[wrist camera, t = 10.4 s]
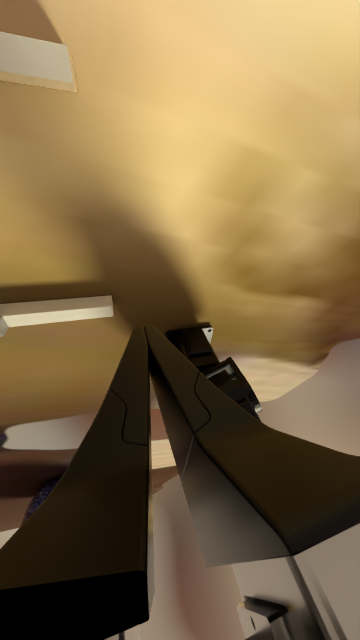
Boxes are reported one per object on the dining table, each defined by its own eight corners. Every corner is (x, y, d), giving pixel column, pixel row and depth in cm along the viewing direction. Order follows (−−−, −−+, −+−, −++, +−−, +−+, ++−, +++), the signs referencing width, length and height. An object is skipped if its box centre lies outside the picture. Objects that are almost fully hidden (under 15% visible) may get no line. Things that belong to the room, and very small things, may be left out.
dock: (113, 305, 21) (113, 323, 19) (1, 315, 19) (-14, 338, 16) (72, 60, 11) (61, 33, 9) (-182, 11, 9) (-294, -46, 6)
